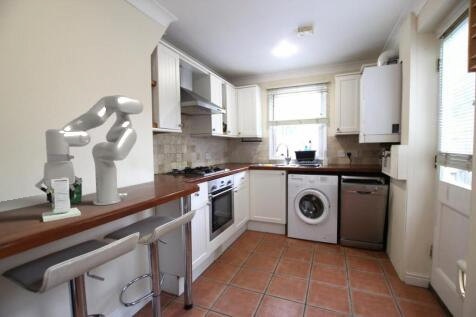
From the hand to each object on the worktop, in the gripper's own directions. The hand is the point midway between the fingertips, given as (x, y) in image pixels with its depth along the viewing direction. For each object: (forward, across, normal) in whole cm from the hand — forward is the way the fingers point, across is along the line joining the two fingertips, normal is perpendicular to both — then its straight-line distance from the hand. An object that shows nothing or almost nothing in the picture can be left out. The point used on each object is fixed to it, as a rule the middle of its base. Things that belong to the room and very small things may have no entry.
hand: (61, 200), depth 94 cm
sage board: (+7, 0, 0) cm, 7 cm away
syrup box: (+5, 0, 0) cm, 5 cm away
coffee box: (+7, -7, -23) cm, 25 cm away
